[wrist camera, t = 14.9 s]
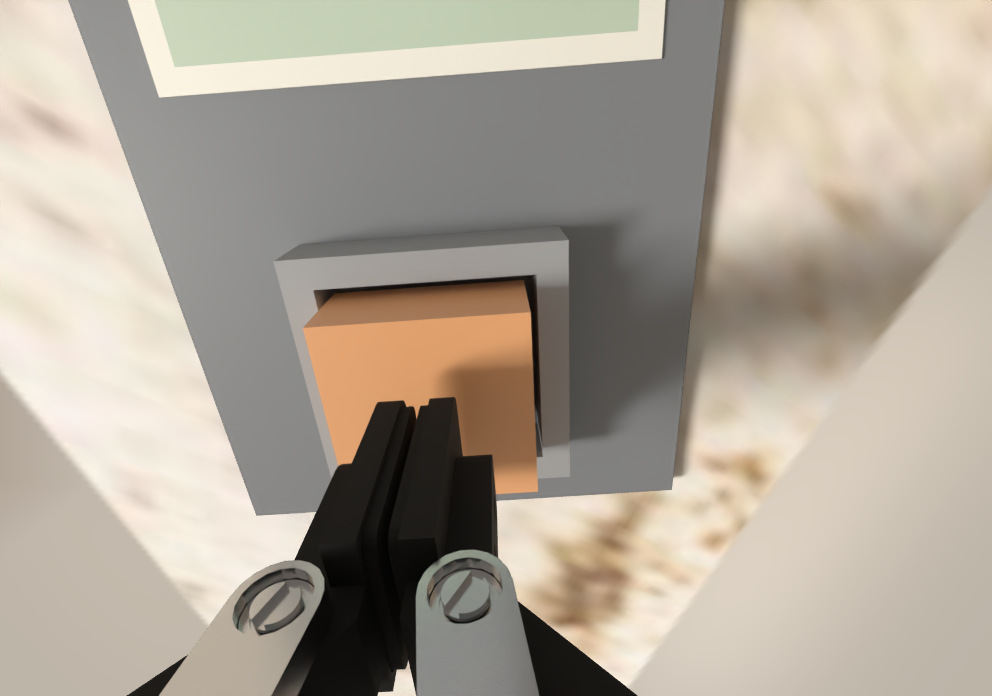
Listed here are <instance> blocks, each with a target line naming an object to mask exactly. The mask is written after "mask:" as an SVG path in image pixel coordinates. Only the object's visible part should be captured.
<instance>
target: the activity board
mask: <svg viewBox="0 0 992 696" xmlns="http://www.w3.org/2000/svg"><path fill="white" fill-rule="evenodd" d="M68 1H69V3H70V6H71V9H72V12H73V14H74V17H75V20H76V23H77V25H78V28H79V31H80V34H81V36H82V39H83V42H84V44H85V47H86V50H87V53H88V55H89V58H90V61H91V64H92V66H93V69H94V72H95V75H96V77H97V80H98V83H99V86H100V88H101V91H102V94H103V97H104V99H105V102H106V105H107V107H108V110H109V113H110V116H111V118H112V121H113V124H114V127H115V129H116V132H117V135H118V138H119V140H120V143H121V146H122V149H123V151H124V154H125V157H126V160H127V162H128V165H129V168H130V170H131V173H132V176H133V179H134V181H135V184H136V187H137V190H138V192H139V195H140V198H141V201H142V203H143V206H144V209H145V212H146V214H147V217H148V220H149V222H150V225H151V228H152V231H153V233H154V236H155V239H156V242H157V244H158V247H159V250H160V253H161V255H162V258H163V261H164V264H165V266H166V269H167V272H168V275H169V277H170V280H171V283H172V285H173V288H174V291H175V294H176V296H177V299H178V302H179V305H180V307H181V310H182V313H183V316H184V318H185V321H186V324H187V327H188V329H189V332H190V335H191V338H192V340H193V343H194V346H195V348H196V351H197V354H198V357H199V359H200V362H201V365H202V368H203V370H204V373H205V376H206V379H207V381H208V384H209V387H210V390H211V392H212V395H213V398H214V401H215V403H216V406H217V409H218V411H219V414H220V417H221V420H222V422H223V425H224V428H225V431H226V433H227V436H228V439H229V442H230V444H231V447H232V450H233V453H234V455H235V458H236V461H237V464H238V466H239V469H240V472H241V474H242V477H243V480H244V483H245V485H246V488H247V491H248V494H249V496H250V499H251V502H252V505H253V507H254V510H255V513H256V516H258V515H274V514H290V513H306V512H317V510H318V507H319V505H320V503H321V501H322V499H323V496H324V494H325V492H326V490H327V488H328V486H329V483H330V481H331V479H332V477H333V475H334V472H335V470H336V469H337V467H338V463H337V460H336V456H335V452H334V448H333V444H332V440H331V436H330V432H329V428H328V424H327V421H326V417H325V413H324V409H323V405H322V401H321V397H320V393H319V389H318V386H317V382H316V378H315V374H314V370H313V366H312V362H311V358H310V354H309V350H308V347H307V343H306V339H305V335H304V331H303V327H304V326H305V325H306V324H307V323H308V322H309V321H310V319H311V318H312V317H313V316H314V315H315V314H316V313H317V312H318V311H319V310H320V309H321V307H322V306H323V305H324V304H325V303H326V302H327V301H328V300H329V299H330V298H331V297H332V295H333V294H334V293H345V292H359V291H373V290H388V289H402V288H416V287H430V286H445V285H459V284H473V283H487V282H502V281H516V280H524V284H525V289H526V293H527V298H528V302H529V307H530V312H531V333H532V357H533V381H534V406H535V430H536V455H537V479H538V492H525V493H509V494H496V501H499V500H515V499H531V498H548V497H564V496H580V495H596V494H612V493H628V492H644V491H660V490H672V483H673V473H674V464H675V455H676V446H677V436H678V427H679V418H680V409H681V399H682V390H683V381H684V372H685V362H686V353H687V344H688V335H689V325H690V316H691V307H692V298H693V288H694V279H695V270H696V261H697V251H698V242H699V233H700V224H701V214H702V205H703V196H704V187H705V177H706V168H707V159H708V150H709V140H710V131H711V122H712V113H713V103H714V94H715V85H716V76H717V66H718V57H719V48H720V39H721V29H722V20H723V11H724V2H725V0H68Z"/></svg>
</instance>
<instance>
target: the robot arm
mask: <svg viewBox="0 0 992 696" xmlns="http://www.w3.org/2000/svg"><path fill="white" fill-rule="evenodd" d="M408 660H409V664H410V669H411V673H412V678H413V682H414V687H415V691H416V695H417V696H637V695H636V694H635V693H633V692H632V691H631V690H630V689H628V688H627V687H626V686H625V685H623V684H622V683H621V682H620V681H618V680H617V679H616V678H615V677H613V676H612V675H611V674H609V673H608V672H607V671H606V670H604V669H603V668H602V667H601V666H599V665H598V664H597V663H596V662H594V661H593V660H592V659H590V658H589V657H588V656H587V655H585V654H584V653H583V652H582V651H580V650H579V649H578V648H577V647H575V646H574V645H573V644H571V643H570V642H569V641H568V640H566V639H565V638H564V637H563V636H561V635H560V634H559V633H558V632H556V631H555V630H554V629H553V628H551V627H550V626H549V625H547V624H546V623H545V622H544V621H542V620H541V619H540V618H539V617H537V616H536V615H535V614H534V613H532V612H531V611H530V610H528V609H527V608H526V607H525V606H523V605H522V604H521V603H520V602H518V601H517V596H516V592H515V587H514V583H513V579H512V577H511V574H510V572H509V570H508V568H507V567H506V566H505V564H504V563H503V562H502V561H501V560H500V559H499V558H498V536H497V505H496V489H495V477H494V466H493V457H492V454H490V455H474V456H463V453H462V445H461V436H460V428H459V419H458V411H457V403H456V398H455V397H445V398H431V399H429V403H428V405H423V406H420V408H419V412H418V416H417V419H416V412H415V408H414V407H413V406H408V407H406V404H405V402H404V400H400V401H385V402H377V404H376V406H375V409H374V411H373V413H372V416H371V418H370V421H369V423H368V425H367V428H366V430H365V433H364V435H363V437H362V440H361V442H360V445H359V447H358V449H357V452H356V454H355V457H354V459H353V461H352V463H348V464H341V465H339V466H338V467H337V469H336V470H335V472H334V475H333V477H332V479H331V481H330V483H329V486H328V488H327V490H326V492H325V494H324V496H323V499H322V501H321V503H320V505H319V507H318V510H317V512H316V514H315V516H314V518H313V521H312V523H311V525H310V527H309V529H308V532H307V534H306V536H305V538H304V540H303V543H302V545H301V547H300V549H299V551H298V554H297V556H296V558H295V560H294V561H284V562H280V563H277V564H274V565H270V566H268V567H266V568H264V569H262V570H260V571H258V572H257V573H255V574H254V575H252V576H251V577H250V578H248V579H247V580H246V581H244V582H243V583H242V584H241V585H240V586H239V587H238V588H237V589H236V590H235V592H234V593H233V594H232V595H231V596H230V598H229V599H228V600H227V602H226V603H225V604H224V606H223V607H222V609H221V610H220V611H219V613H218V614H217V616H216V617H215V618H214V620H213V621H212V623H211V624H210V625H209V627H208V628H207V629H206V631H205V632H204V634H203V635H202V637H201V638H200V639H199V641H198V642H197V643H196V645H195V646H194V648H193V649H192V651H191V652H190V653H189V654H188V655H187V656H185V657H184V658H182V659H181V660H179V661H178V662H176V663H175V664H174V665H172V666H170V667H169V668H167V669H166V670H164V671H163V672H161V673H160V674H159V675H157V676H155V677H154V678H153V679H151V680H150V681H148V682H147V683H145V684H144V685H142V686H141V687H139V688H138V689H136V690H135V691H133V692H132V693H130V694H129V695H127V696H377V695H378V692H390V691H393V688H394V682H395V676H396V670H398V669H405V668H406V666H407V663H408Z"/></svg>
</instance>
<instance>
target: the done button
mask: <svg viewBox="0 0 992 696" xmlns="http://www.w3.org/2000/svg"><path fill="white" fill-rule="evenodd" d="M303 331H304V335H305V339H306V343H307V347H308V350H309V354H310V358H311V362H312V366H313V370H314V374H315V378H316V382H317V386H318V389H319V393H320V397H321V401H322V405H323V409H324V413H325V417H326V421H327V424H328V428H329V432H330V436H331V440H332V444H333V448H334V452H335V456H336V460H337V463H338V466H339V465H341V464H348V463H352V461H353V459H354V457H355V454H356V452H357V449H358V447H359V445H360V442H361V440H362V437H363V435H364V433H365V430H366V428H367V425H368V423H369V421H370V418H371V416H372V413H373V411H374V409H375V406H376V404H377V402H385V401H400V400H404V402H405V404H406V407H408V406H413V407H414V408H415V412H416V419H417V416H418V412H419V408H420V406H423V405H428V403H429V399H431V398H445V397H455V398H456V403H457V411H458V419H459V428H460V436H461V445H462V453H463V456H474V455H490V454H492V457H493V466H494V477H495V489H496V494H509V493H525V492H538V479H537V455H536V430H535V406H534V381H533V357H532V333H531V312H530V307H529V302H528V298H527V293H526V289H525V284H524V280H516V281H502V282H487V283H473V284H459V285H445V286H430V287H416V288H402V289H388V290H373V291H359V292H345V293H334V294H333V295H332V297H331V298H330V299H329V300H328V301H327V302H326V303H325V304H324V305H323V306H322V307H321V309H320V310H319V311H318V312H317V313H316V314H315V315H314V316H313V317H312V318H311V319H310V321H309V322H308V323H307V324H306V325H305V326H304V327H303Z"/></svg>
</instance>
